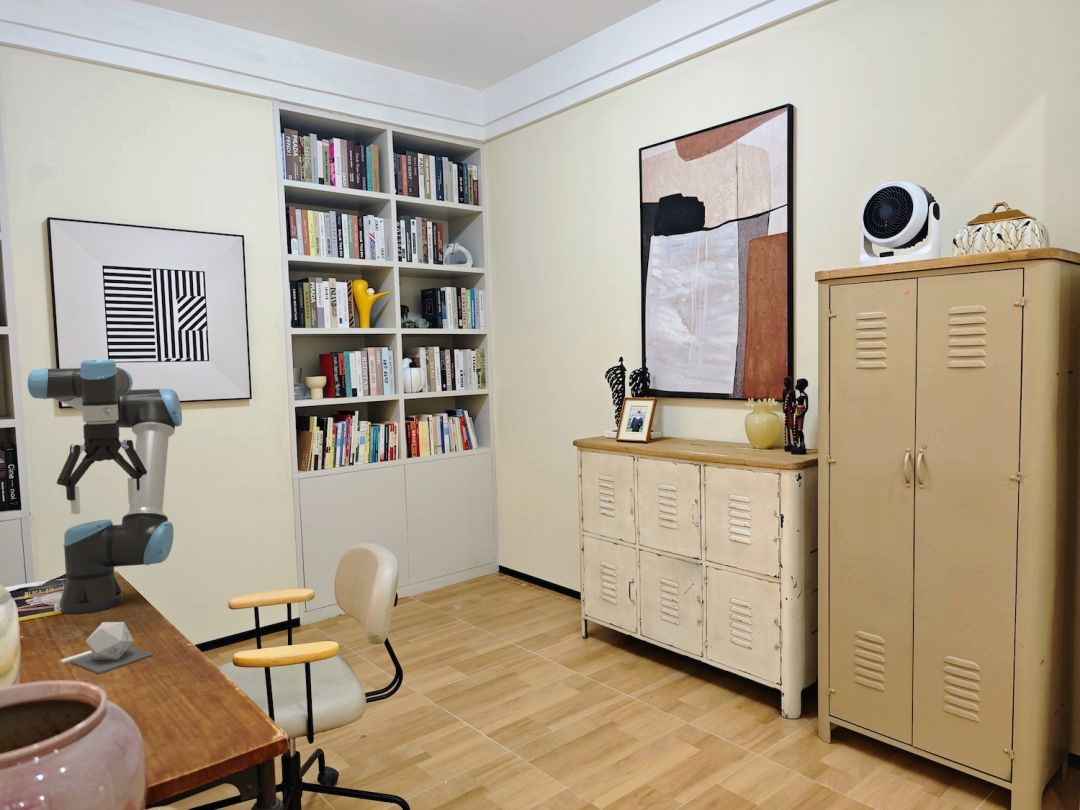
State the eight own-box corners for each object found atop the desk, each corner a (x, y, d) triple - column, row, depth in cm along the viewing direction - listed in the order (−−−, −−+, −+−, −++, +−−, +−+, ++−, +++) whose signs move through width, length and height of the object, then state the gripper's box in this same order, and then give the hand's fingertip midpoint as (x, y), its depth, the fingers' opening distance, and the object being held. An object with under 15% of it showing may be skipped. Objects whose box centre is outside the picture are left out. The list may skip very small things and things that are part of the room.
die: (99, 671, 164) (127, 632, 166) (70, 649, 166) (99, 611, 168) (120, 670, 172) (147, 632, 174) (93, 649, 173) (120, 612, 176)
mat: (123, 642, 180) (122, 640, 180) (157, 654, 172) (157, 652, 172) (60, 662, 169) (60, 659, 169) (93, 675, 161) (93, 673, 161)
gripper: (52, 427, 170) (57, 519, 171) (159, 419, 191) (163, 501, 192) (37, 426, 174) (42, 516, 175) (143, 418, 195) (147, 499, 196)
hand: (105, 508), depth 184 cm, fingers open, 13 cm apart
